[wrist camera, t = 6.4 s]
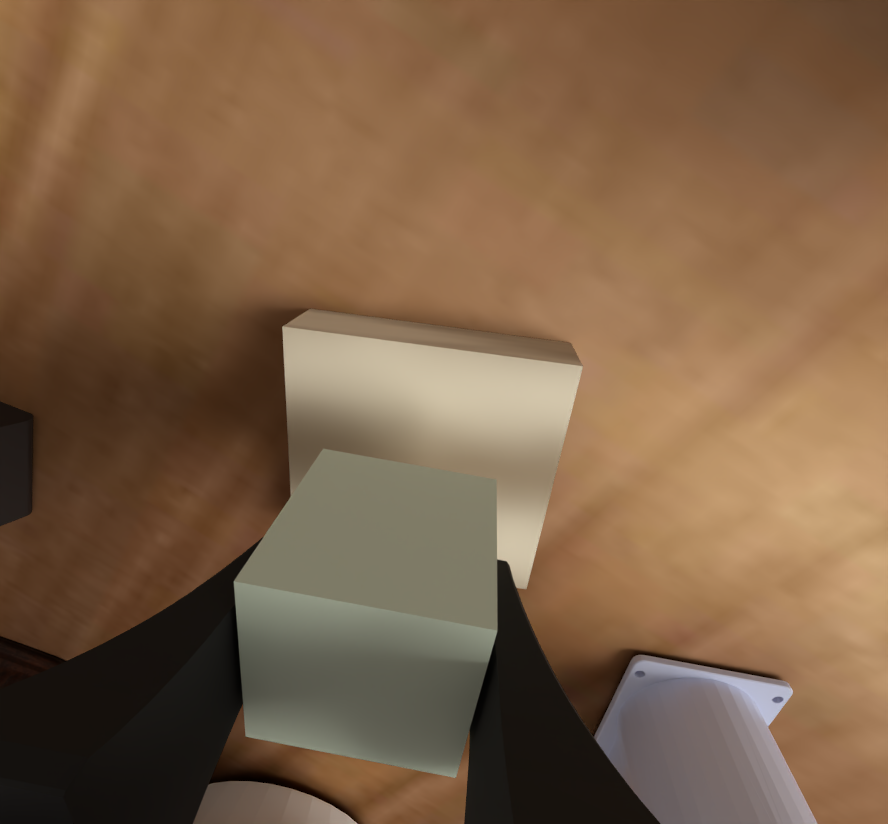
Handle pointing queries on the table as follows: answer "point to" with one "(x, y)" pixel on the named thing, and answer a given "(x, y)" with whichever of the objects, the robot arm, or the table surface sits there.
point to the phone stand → (15, 463)
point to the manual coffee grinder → (22, 662)
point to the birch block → (435, 407)
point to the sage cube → (371, 613)
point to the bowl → (264, 806)
